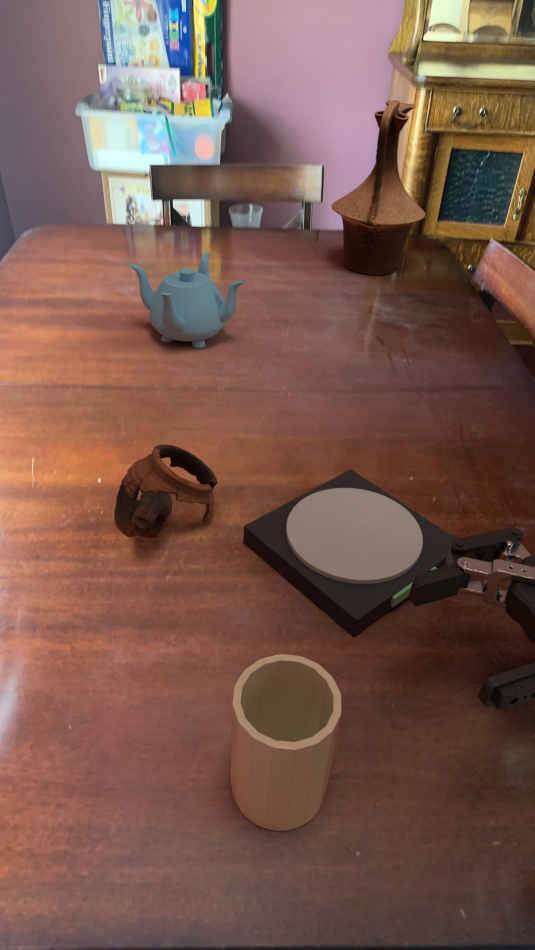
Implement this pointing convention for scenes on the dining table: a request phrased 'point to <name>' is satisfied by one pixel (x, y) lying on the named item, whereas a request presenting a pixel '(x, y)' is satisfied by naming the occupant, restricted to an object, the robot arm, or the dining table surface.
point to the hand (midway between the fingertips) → (445, 640)
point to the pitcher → (379, 204)
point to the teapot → (187, 304)
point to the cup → (283, 740)
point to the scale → (349, 548)
